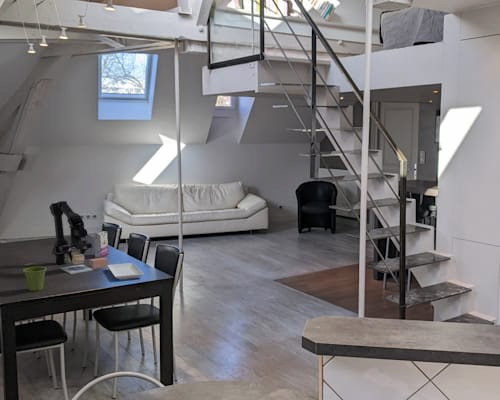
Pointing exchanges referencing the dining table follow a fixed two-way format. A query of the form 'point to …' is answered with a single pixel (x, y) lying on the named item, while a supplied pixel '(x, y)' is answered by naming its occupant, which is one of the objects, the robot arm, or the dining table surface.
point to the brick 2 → (98, 262)
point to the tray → (125, 271)
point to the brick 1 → (77, 258)
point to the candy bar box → (101, 244)
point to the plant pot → (35, 277)
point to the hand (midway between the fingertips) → (76, 260)
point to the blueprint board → (76, 269)
